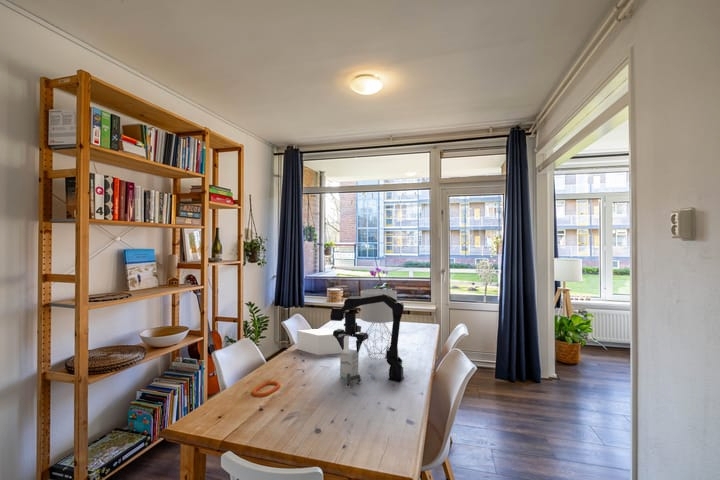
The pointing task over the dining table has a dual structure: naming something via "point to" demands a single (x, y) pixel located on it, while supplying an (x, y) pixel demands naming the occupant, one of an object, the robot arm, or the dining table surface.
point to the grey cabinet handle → (352, 380)
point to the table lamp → (377, 314)
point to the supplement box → (349, 362)
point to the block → (320, 341)
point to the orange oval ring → (268, 391)
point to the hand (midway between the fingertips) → (350, 351)
